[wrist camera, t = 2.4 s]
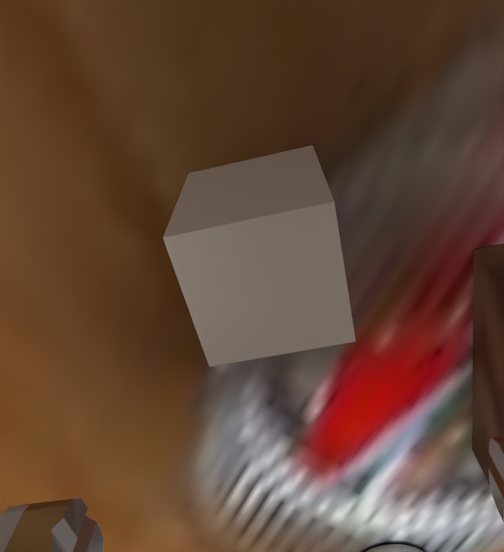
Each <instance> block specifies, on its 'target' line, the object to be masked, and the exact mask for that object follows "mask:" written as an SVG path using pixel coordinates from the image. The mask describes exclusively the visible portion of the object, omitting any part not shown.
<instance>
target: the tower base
mask: <svg viewBox="0 0 504 552" xmlns="http://www.w3.org/2000/svg"><path fill="white" fill-rule="evenodd" d="M500 436H504V244H499V245H494V246H489V247H483V248H478V249H473V435H472V450H473V452H474V454H475V456H476V458H477V460H478V462H479V464H480V466H481V468H482V470H483V473H484V475H485V477H486V479H487V481H488V483H489V485H490V482H489V467H490V466H491V465H492V464H493V463H494V461H493V459H492V457H491V455H490V453H489V441H490V440H491V438H494V437H500Z"/></svg>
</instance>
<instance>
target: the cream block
mask: <svg viewBox="0 0 504 552" xmlns="http://www.w3.org/2000/svg"><path fill="white" fill-rule="evenodd" d="M163 240H164V243H165V245H166V248H167V251H168V254H169V256H170V259H171V262H172V265H173V268H174V270H175V273H176V276H177V279H178V281H179V284H180V287H181V290H182V293H183V295H184V298H185V301H186V304H187V306H188V309H189V312H190V315H191V318H192V320H193V323H194V326H195V329H196V331H197V334H198V337H199V340H200V343H201V345H202V348H203V351H204V354H205V356H206V359H207V362H208V365H209V367H212V366H218V365H224V364H230V363H235V362H241V361H247V360H253V359H258V358H264V357H270V356H276V355H281V354H287V353H293V352H299V351H305V350H310V349H316V348H322V347H328V346H333V345H339V344H345V343H351V342H356V340H355V333H354V327H353V320H352V314H351V307H350V300H349V294H348V287H347V281H346V274H345V268H344V261H343V255H342V248H341V242H340V235H339V229H338V222H337V216H336V209H335V203H334V199H333V197H332V194H331V192H330V189H329V186H328V184H327V181H326V179H325V176H324V173H323V171H322V168H321V166H320V163H319V160H318V158H317V155H316V153H315V150H314V147H313V145H311V146H306V147H302V148H298V149H293V150H289V151H284V152H280V153H276V154H271V155H267V156H262V157H258V158H253V159H249V160H245V161H240V162H236V163H231V164H227V165H223V166H218V167H214V168H209V169H205V170H200V171H196V172H192V173H188V176H187V178H186V181H185V183H184V186H183V188H182V191H181V193H180V196H179V198H178V201H177V203H176V206H175V208H174V211H173V213H172V216H171V218H170V221H169V224H168V226H167V229H166V231H165V234H164V236H163Z"/></svg>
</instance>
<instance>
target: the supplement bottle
mask: <svg viewBox="0 0 504 552" xmlns="http://www.w3.org/2000/svg"><path fill="white" fill-rule="evenodd" d="M366 552H423V551H421V550H420V549H417V548H415V547H412V546H408V545H402V544H389V545H382V546H378V547H375V548H372V549H370V550H368V551H366Z"/></svg>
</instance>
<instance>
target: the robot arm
mask: <svg viewBox="0 0 504 552" xmlns="http://www.w3.org/2000/svg"><path fill="white" fill-rule="evenodd" d="M489 453H490V455H491V457H492V459H493V461H494V463H493V464H492V465H491V466H490V467H489V482H490V487H491V491H492V496H493V498H494V501H495V504H496V506H497V509H498V511H499V513H500V515H501V517H502V519H503V521H504V436H500V437H494V438H491V440H490V441H489ZM87 509H88V507H87V506H86V505H85V503H84V502H83V500H82V499H81V498H77V499H68V500H59V501H50V502H41V503H32V504H25V505H17V506H10V507H8V508H7V509H6V510H5V511H4V512H3V513H2V514H1V515H0V552H103V536H102V532H101V529H100V527H99V525H98V524H97V522H96V521H94V520H92V519H91V518H89V517H87V516H85V515H86V512H87Z"/></svg>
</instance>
